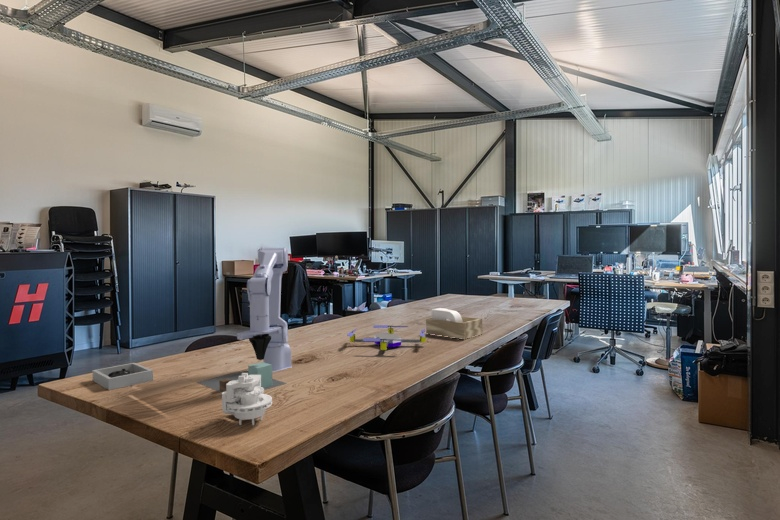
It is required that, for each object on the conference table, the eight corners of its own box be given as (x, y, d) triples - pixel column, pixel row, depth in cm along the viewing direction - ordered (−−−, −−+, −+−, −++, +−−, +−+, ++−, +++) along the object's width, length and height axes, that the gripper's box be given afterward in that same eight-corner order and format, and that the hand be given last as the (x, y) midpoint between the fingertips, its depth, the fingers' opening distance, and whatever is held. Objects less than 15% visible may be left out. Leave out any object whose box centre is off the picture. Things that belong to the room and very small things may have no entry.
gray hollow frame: (135, 372, 159) (134, 362, 159) (153, 380, 149) (152, 370, 149) (92, 380, 149) (92, 370, 149) (109, 390, 139) (108, 379, 139)
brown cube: (227, 388, 138) (227, 378, 138) (231, 389, 136) (231, 380, 136) (219, 390, 136) (219, 380, 136) (223, 391, 134) (223, 382, 134)
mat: (246, 372, 158) (246, 370, 158) (287, 385, 142) (287, 383, 142) (196, 384, 145) (196, 382, 145) (235, 399, 129) (235, 397, 129)
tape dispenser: (431, 334, 225) (431, 309, 225) (446, 331, 232) (445, 307, 232) (456, 338, 213) (455, 312, 213) (470, 335, 220) (470, 310, 220)
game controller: (106, 376, 152) (120, 362, 154) (119, 385, 154) (133, 372, 156) (102, 383, 143) (118, 369, 145) (116, 393, 145) (131, 379, 147)
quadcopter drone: (357, 334, 217) (357, 324, 216) (426, 335, 213) (426, 325, 213) (342, 350, 183) (342, 338, 183) (424, 352, 180) (424, 339, 179)
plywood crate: (445, 329, 236) (445, 314, 236) (482, 334, 222) (482, 318, 221) (426, 334, 223) (426, 318, 223) (464, 340, 209) (464, 323, 209)
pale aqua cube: (263, 382, 143) (262, 362, 143) (272, 385, 140) (272, 364, 140) (248, 386, 139) (248, 365, 139) (257, 389, 136) (257, 368, 136)
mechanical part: (253, 432, 106) (252, 382, 105) (213, 425, 110) (212, 378, 110) (281, 415, 116) (281, 370, 116) (244, 410, 120) (243, 366, 120)
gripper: (245, 320, 131) (246, 366, 131) (286, 314, 142) (287, 356, 142) (233, 317, 136) (233, 362, 136) (273, 312, 147) (274, 353, 147)
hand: (260, 359), depth 139 cm, fingers closed
